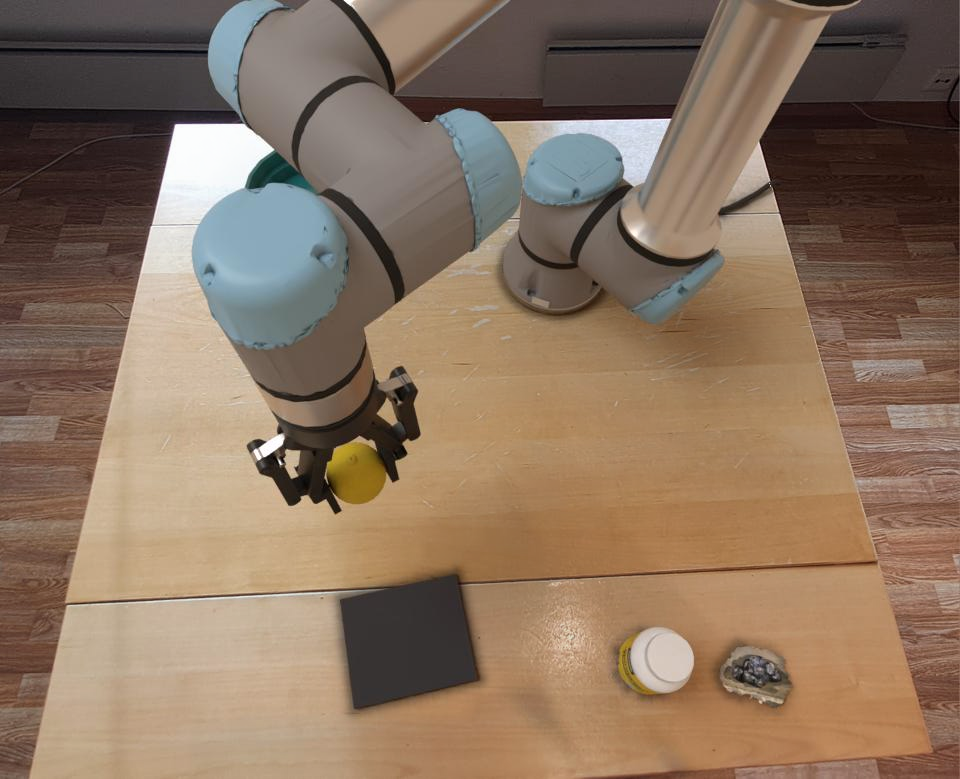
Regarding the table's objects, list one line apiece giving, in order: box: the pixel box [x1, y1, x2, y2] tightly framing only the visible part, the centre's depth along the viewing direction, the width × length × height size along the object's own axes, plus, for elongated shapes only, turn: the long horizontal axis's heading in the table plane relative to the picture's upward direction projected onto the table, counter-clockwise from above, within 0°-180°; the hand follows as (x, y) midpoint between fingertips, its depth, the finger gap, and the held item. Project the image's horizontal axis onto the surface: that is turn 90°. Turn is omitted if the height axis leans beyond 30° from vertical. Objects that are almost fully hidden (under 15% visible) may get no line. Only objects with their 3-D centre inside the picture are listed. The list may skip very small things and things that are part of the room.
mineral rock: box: [718, 645, 794, 709], centre depth 78 cm, size 7×8×2 cm
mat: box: [339, 573, 478, 710], centre depth 79 cm, size 14×12×1 cm
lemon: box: [325, 441, 387, 505], centre depth 64 cm, size 6×6×8 cm
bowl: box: [244, 149, 319, 195], centre depth 104 cm, size 19×19×6 cm
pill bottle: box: [616, 626, 695, 696], centre depth 74 cm, size 6×6×12 cm
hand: (361, 485), depth 67 cm, fingers closed on lemon, 6 cm apart
